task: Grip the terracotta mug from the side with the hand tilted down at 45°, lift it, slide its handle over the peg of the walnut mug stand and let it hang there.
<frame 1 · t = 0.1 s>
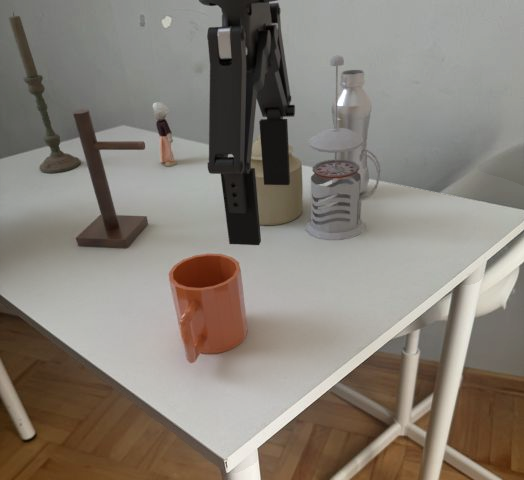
hand: (262, 210, 52), 18 cm above the table, tool pointing down, fingers open, 13 cm apart
grandmother figurine: (169, 164, 118), on the table
sugar bowl: (265, 209, 95), on the table
candlestick holder: (60, 166, 122), on the table
mug: (214, 333, 67), on the table
mug stand: (114, 234, 92), on the table
french press: (340, 227, 88), on the table
silver metal bottle: (349, 193, 98), on the table
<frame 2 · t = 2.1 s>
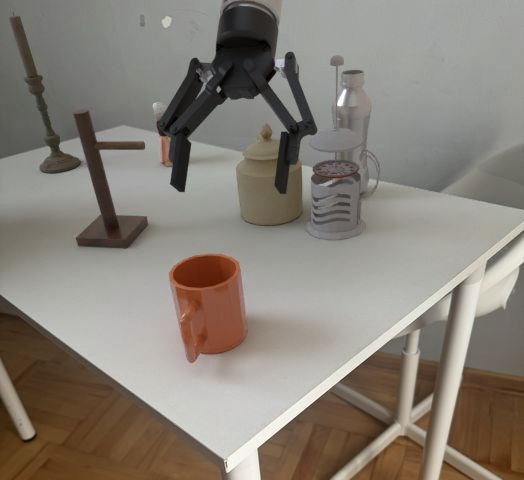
hand: (227, 189, 66), 14 cm above the table, tool tilted 45°, fingers open, 13 cm apart
nothing on the table moved.
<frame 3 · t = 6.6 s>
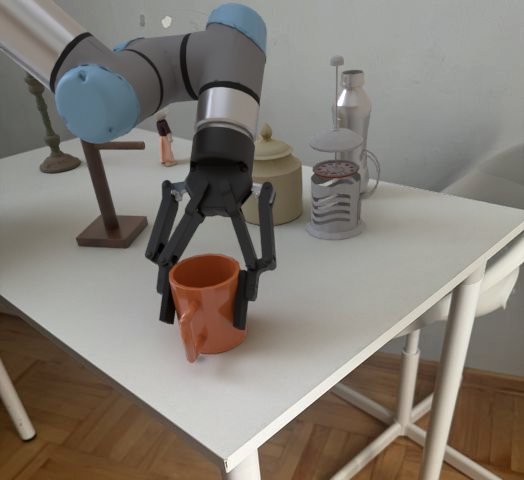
hand: (202, 325, 62), 4 cm above the table, tool tilted 45°, fingers closed on mug, 8 cm apart
mug: (214, 333, 67), on the table, touching gripper
everything else where it was.
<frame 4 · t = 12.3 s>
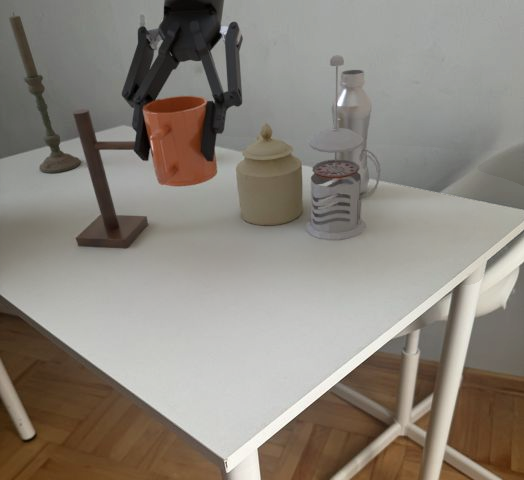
hand: (173, 156, 68), 18 cm above the table, tool tilted 45°, fingers closed on mug, 8 cm apart
mug: (187, 174, 72), point 14 cm above the table, touching gripper
everything else where it was.
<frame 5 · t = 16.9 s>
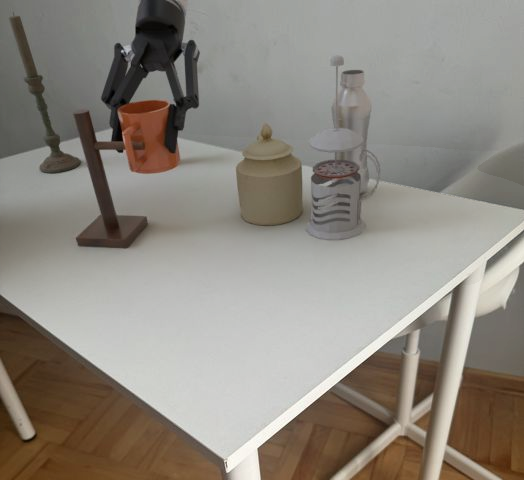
hand: (143, 148, 83), 14 cm above the table, tool tilted 45°, fingers closed on mug, 8 cm apart
mug: (155, 164, 88), point 10 cm above the table, touching gripper
everything else where it was.
when the fingers open (13 cm above the table, at t = 18.2 s): mug moves 14 cm and tips over, point 11 cm above the table.
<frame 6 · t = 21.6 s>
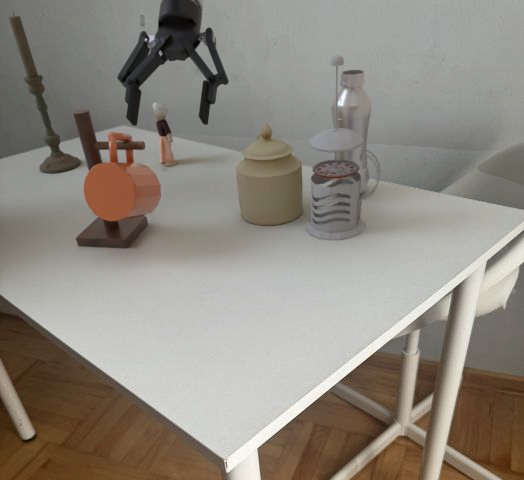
hand: (166, 121, 94), 14 cm above the table, tool tilted 45°, fingers open, 13 cm apart
mug: (108, 192, 78), point 11 cm above the table, tilted 110°
everything else where it was.
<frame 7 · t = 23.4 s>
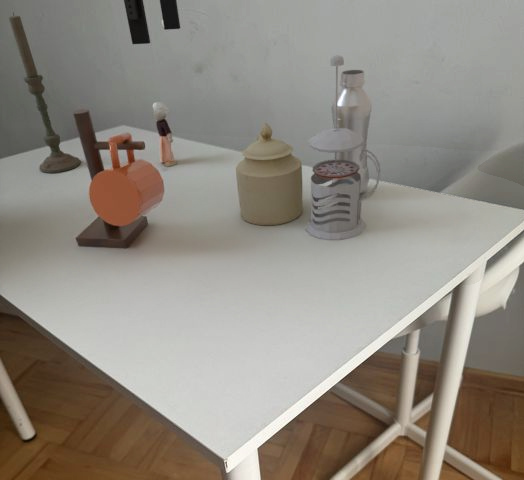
hand: (157, 36, 88), 27 cm above the table, tool pointing down, fingers open, 13 cm apart
mug: (114, 199, 79), point 9 cm above the table, tilted 99°, touching mug stand
everything else where it was.
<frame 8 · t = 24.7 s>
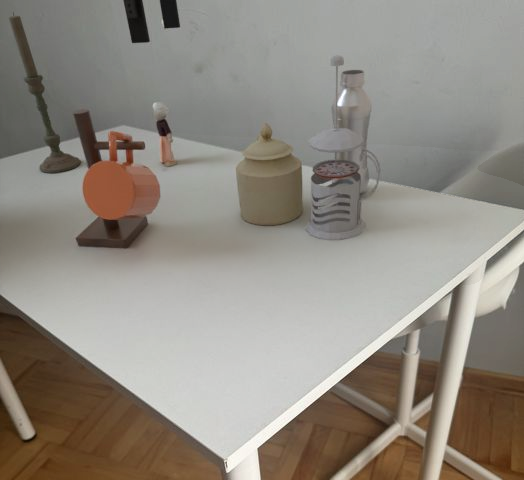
hand: (157, 35, 88), 27 cm above the table, tool pointing down, fingers open, 13 cm apart
mug: (107, 190, 77), point 11 cm above the table, tilted 112°, touching mug stand
everything else where it was.
at the end: mug inside the target area on the mug stand (8.9 cm from its centre), point 9.0 cm above the mug stand's base; mug touching mug stand; the gripper is holding nothing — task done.
